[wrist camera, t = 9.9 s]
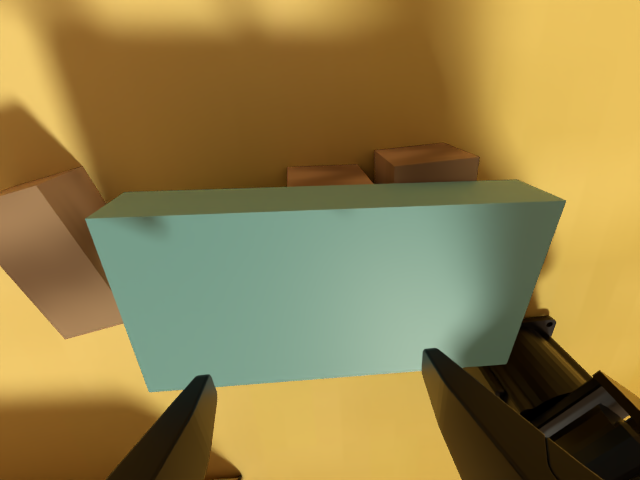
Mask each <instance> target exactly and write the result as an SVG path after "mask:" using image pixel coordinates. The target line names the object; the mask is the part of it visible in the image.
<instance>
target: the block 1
mask: <svg viewBox="0 0 640 480" xmlns="http://www.w3.org/2000/svg"><path fill="white" fill-rule="evenodd" d="M105 205H106V203H105V201H104V200H103V198H102V196H101V195H100V193H99V192H98V190H97V188H96V187H95V185H94V184H93V182H92V180H91V179H90V177H89V176H88V174H87V172H86V171H85V169H84V168H83V166H81V167H78V168H75V169H71V170H68V171H65V172H61V173H58V174H55V175H51V176H48V177H44V178H41V179H38V180H34V181H31V182H28V183H24V184H21V185H17V186H14V187H11V188H9V189H6V190H4V191H1V192H0V266H1V267H2V268H3V269H4V271H5V272H6V273H7V274H8V275H9V276H10V277H11V279H12V280H13V281H14V282H15V283H16V284H17V285H18V286H19V288H20V289H21V290H22V291H23V292H24V293H25V294H26V296H27V297H28V298H29V299H30V300H31V301H32V302H33V303H34V305H35V306H36V307H37V308H38V309H39V310H40V311H41V313H42V314H43V315H44V316H45V317H46V318H47V319H48V320H49V322H50V323H51V324H52V325H53V326H54V327H55V328H56V330H57V331H58V332H59V333H60V334H61V335H62V336H63V337H64V339H68V338H72V337H76V336H79V335H83V334H87V333H90V332H94V331H97V330H101V329H105V328H108V327H112V326H116V325H119V324H123V320H122V318H121V315H120V312H119V309H118V307H117V304H116V301H115V299H114V296H113V293H112V290H111V288H110V285H109V282H108V280H107V277H106V274H105V272H104V269H103V266H102V263H101V261H100V258H99V255H98V253H97V250H96V247H95V245H94V242H93V239H92V236H91V234H90V231H89V228H88V226H87V223H86V220H85V218H87V217H88V216H90V215H91V214H93V213H94V212H96V211H97V210H99V209H100V208H102V207H103V206H105Z"/></svg>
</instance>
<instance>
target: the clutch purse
mask: <svg viewBox="0 0 640 480" xmlns="http://www.w3.org/2000/svg"><path fill="white" fill-rule="evenodd" d="M216 480H243V478H242V476H239V477H238V478H230V479H216Z"/></svg>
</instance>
